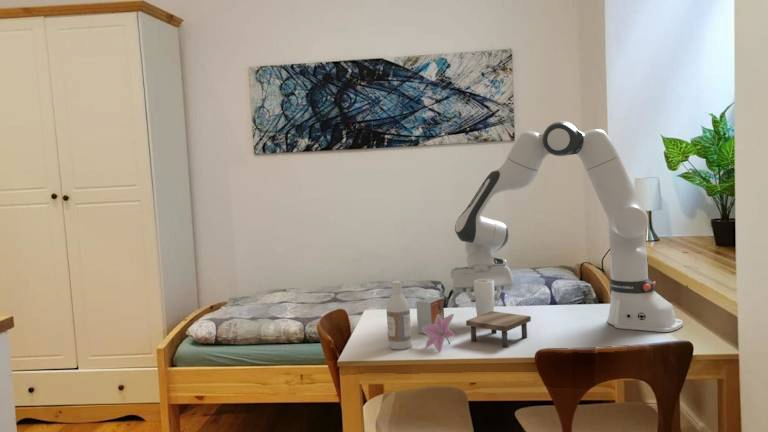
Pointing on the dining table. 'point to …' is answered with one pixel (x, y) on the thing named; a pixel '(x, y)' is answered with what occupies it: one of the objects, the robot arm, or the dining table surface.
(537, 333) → the dining table surface
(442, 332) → the lily
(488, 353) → the dining table surface
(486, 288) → the white tall cup
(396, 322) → the bath foam
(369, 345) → the dining table surface
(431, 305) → the small box
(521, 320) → the shelf stand
